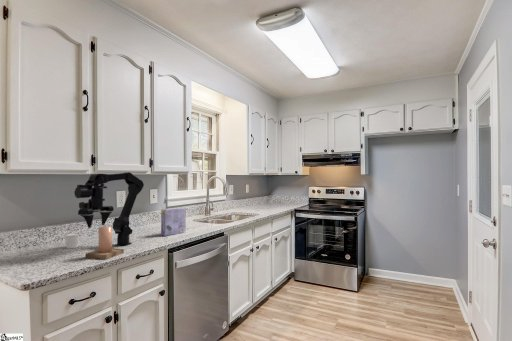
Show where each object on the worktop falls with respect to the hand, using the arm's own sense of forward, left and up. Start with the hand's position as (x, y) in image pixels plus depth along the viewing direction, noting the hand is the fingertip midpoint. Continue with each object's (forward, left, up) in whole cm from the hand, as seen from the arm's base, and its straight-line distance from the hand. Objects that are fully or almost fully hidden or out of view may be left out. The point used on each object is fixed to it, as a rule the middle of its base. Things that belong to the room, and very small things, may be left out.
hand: (96, 226), depth 153 cm
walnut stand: (+6, +11, -13) cm, 18 cm away
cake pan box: (-52, +16, -13) cm, 56 cm away
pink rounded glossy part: (+6, +11, -11) cm, 17 cm away
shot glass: (-4, -20, -13) cm, 24 cm away
